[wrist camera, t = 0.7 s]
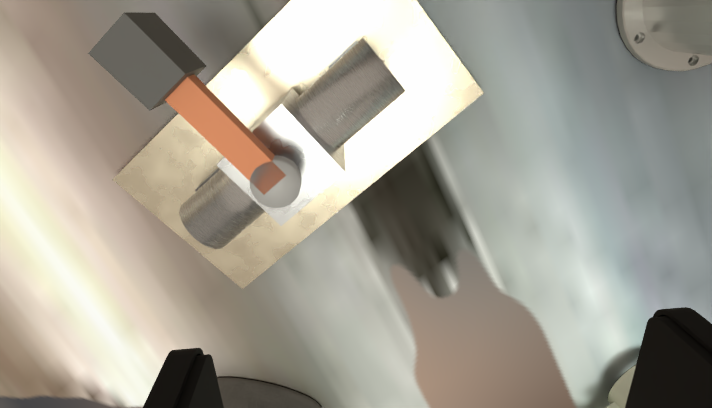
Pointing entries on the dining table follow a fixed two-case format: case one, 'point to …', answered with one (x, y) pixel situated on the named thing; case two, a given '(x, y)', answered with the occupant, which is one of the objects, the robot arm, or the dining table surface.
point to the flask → (260, 395)
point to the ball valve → (304, 125)
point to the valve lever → (191, 100)
